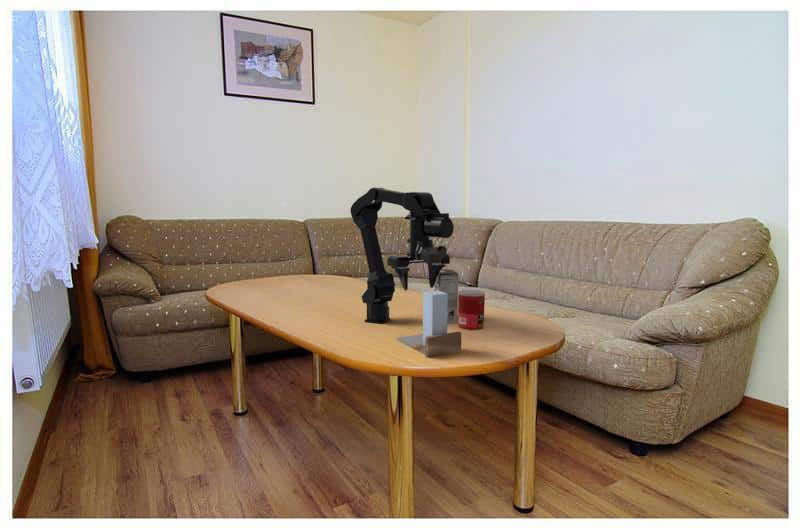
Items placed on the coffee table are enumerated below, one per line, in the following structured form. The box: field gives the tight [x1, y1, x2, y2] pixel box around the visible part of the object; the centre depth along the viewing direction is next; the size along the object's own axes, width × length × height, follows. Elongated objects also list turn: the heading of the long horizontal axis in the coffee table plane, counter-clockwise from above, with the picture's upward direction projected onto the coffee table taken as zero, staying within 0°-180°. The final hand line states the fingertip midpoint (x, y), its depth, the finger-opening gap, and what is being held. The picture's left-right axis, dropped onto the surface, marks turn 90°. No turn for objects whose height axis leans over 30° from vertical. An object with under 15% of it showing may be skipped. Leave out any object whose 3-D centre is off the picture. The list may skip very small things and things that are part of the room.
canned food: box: [457, 289, 486, 331], centre depth 144 cm, size 8×8×11 cm
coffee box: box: [434, 268, 459, 324], centre depth 153 cm, size 9×6×16 cm
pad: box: [396, 333, 423, 348], centre depth 130 cm, size 9×9×1 cm
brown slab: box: [411, 331, 462, 358], centre depth 122 cm, size 9×10×5 cm
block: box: [422, 290, 448, 346], centre depth 121 cm, size 4×4×15 cm
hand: (418, 288), depth 138 cm, fingers open, 9 cm apart
